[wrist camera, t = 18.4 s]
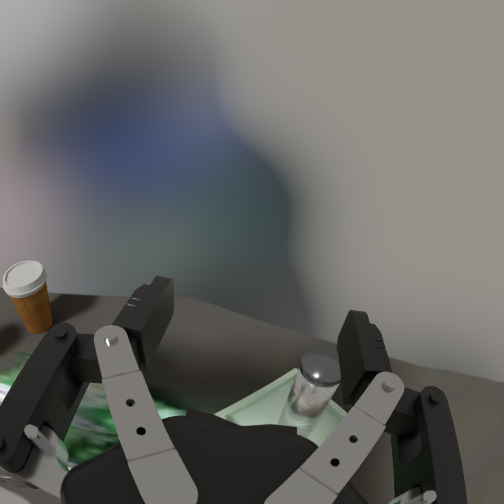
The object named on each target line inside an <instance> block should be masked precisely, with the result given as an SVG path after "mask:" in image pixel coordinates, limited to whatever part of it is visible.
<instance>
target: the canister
mask: <svg viewBox="0 0 504 504" xmlns="http://www.w3.org/2000/svg"><path fill="white" fill-rule="evenodd" d="M340 382H341V373H340V365H339V357H338V350H336V349H334V348H332V347H329V346H324V345H317V346H312V347H310V348H308V349H307V350H306V351H305V352H304V353H303V355H302V358H301V361H300V364H299V369H298V372H297V374H296V377H295V379H294V382H293V385H292V387H291V390H290V392H289V395H288V397H287V400H286V402H285V405H284V407H283V410H282V412H281V414H280V417H279V419H278V422H277V424H276V425H285V426H295V427H297V434H298V435H301V436H303V437H306V438H307V437H308V436H309V434H310V433H311V431H312V429H313V428H314V426H315V425H316V423H317V421H318V420H319V418H320V416H321V415H322V413H323V411H324V410H325V408H326V406H327V405H328V403H329V401H330V400H331V398H332V396H333V394H334V393H335V391H336V389H337V387H338V385H339V384H340Z"/></svg>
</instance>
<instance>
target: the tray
mask: <svg viewBox="0 0 504 504" xmlns="http://www.w3.org/2000/svg"><path fill="white" fill-rule="evenodd" d="M297 372H298V369H296V368H295V369H293V370H292V371H290V372H288V373H287V374H285V375H283V376H282V377H280V378H278V379H277V380H275V381H273V382H272V383H270V384H268V385H267V386H265V387H263V388H262V389H260V390H258V391H256V392H255V393H253V394H251V395H249V396H247V397H246V398H244V399H242V400H240V401H238V402H236V403H235V404H233V405H231V406H229V407H227V408H225V409H223V410H221V411H219V412H217V413H215V414H214V415H217V416H219V417H221V418H224V419H226V420H228V421H231V422H233V423H236V424H238V425H241V426H249V425H263V424H277V422H278V419H279V417H280V414H281V412H282V410H283V407H284V405H285V402H286V400H287V397H288V395H289V392H290V390H291V387H292V385H293V382H294V379H295V377H296V374H297ZM346 415H347V412H346V411H344V410H343V409H342V408H341V407H340V406H339V405H337V404H336V403H335V402H334V401H333V400H332V399H331V400H330V401H329V403H328V405H327V406H326V408H325V410H324V411H323V413H322V415H321V416H320V418H319V420H318V421H317V423H316V425H315V426H314V428H313V429H312V431H311V433H310V434H309V436H308V437H307V438H308V439H309V440H311V441H312V442H314V443H315V444H317V445H318V446H320V445H321V444H322V443H323V442H324V441H325V440H326V439H327V437H328V436H329V435H330V434H331V433H332V432H333V430H334V429H335V428H336V427H337V426H338V424H339V423H340V422H341V421H342V420H343V418H344V417H345V416H346Z"/></svg>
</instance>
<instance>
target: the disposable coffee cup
mask: <svg viewBox="0 0 504 504" xmlns="http://www.w3.org/2000/svg"><path fill="white" fill-rule="evenodd" d="M46 277H47V273H46V270H45V269H44V268H43V266H42V265H41V264H40V263H39V262H37V261H23V262H19V263H17V264H15V265H13V266H12V267H10V268H9V269H8V270H7V271H6V273H5V274H4V277H3V288H4V290H5V292H6V293H7V294H8V295H9V297H10V298H11V301H12V303H13V305H14V306H15V308H16V310H17V312H18V314H19V315H20V317H21V319H22V321H23V323H24V324H25V326H26V328H27V329H28V331H29V332H31V333H34V334H38V333H43V332H45V331H46V330H48V329H49V328H50V327H51V325H52V322H53V319H52V314H51V309H50V303H49V298H48V291H47V286H46Z"/></svg>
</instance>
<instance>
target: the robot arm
mask: <svg viewBox="0 0 504 504" xmlns="http://www.w3.org/2000/svg"><path fill="white" fill-rule="evenodd" d="M173 312H174V281H173V279H171V278H166V277H161V276H156V277H155V279H154V280H153V282H152V283H151V285H146V284H144V285H142V286H141V287H139V288H138V289H136V290H135V292H134V293H133V294H132V296H131V298H130V299H129V300H128V302H127V304H126V305H125V306H124V307H123V309H122V310H121V312H120V313H119V315H118V316H117V318H116V319H115V321H114V322H113V324H112V325H110V326H105V327H102V328H101V329H99V330H98V331H97V332H96V334H77V333H76V330H75V328H74V327H73V326H72V325H70V324H67V323H60V324H56V325H54V326H53V327H51V328H50V329H49V330H48V332H47V333H46V334H45V336H44V337H43V339H42V340H41V342H40V343H39V344H38V346H37V347H36V349H35V350H34V352H33V353H32V355H31V356H30V358H29V359H28V361H27V362H26V364H25V366H24V367H23V369H22V370H21V372H20V373H19V375H18V377H17V378H16V380H15V382H14V383H13V385H12V386H11V388H10V390H9V392H8V393H7V395H6V397H5V398H4V400H3V402H2V403H1V402H0V481H7V482H9V483H11V484H12V485H15V486H22V487H24V486H29V487H31V488H34V489H41V490H43V491H45V492H47V493H49V494H51V495H52V496H54V497H56V498H58V499H60V500H61V503H62V504H368V503H367V502H366V500H365V499H364V498H363V497H362V496H361V495H360V494H359V493H358V491H357V490H356V489H355V488H354V487H353V486H352V485H351V483H350V482H349V479H350V478H351V477H352V476H353V474H354V473H355V472H356V470H357V469H358V468H359V466H360V465H361V463H362V462H363V461H364V459H365V458H366V456H367V455H368V454H369V452H370V451H371V449H372V448H373V446H374V445H375V443H376V442H377V440H378V439H379V437H380V435H381V434H382V432H387V433H390V434H391V444H392V456H393V470H394V490H395V498H394V499H393V500H391V501H390V502H389V504H467V496H466V488H465V481H464V474H463V468H462V462H461V457H460V452H459V447H458V442H457V437H456V433H455V429H454V424H453V420H452V416H451V412H450V409H449V405H448V401H447V398H446V396H445V394H444V393H443V392H442V391H441V390H440V389H439V388H437V387H434V386H428V387H425V388H424V389H423V390H422V391H421V393H420V392H417V391H414V390H411V389H408V388H405V387H404V384H403V382H402V380H401V379H400V378H399V377H398V376H397V375H395V374H393V373H392V370H391V366H390V362H389V359H388V355H387V352H386V349H385V345H384V342H383V338H382V335H381V332H380V331H379V329H378V328H377V327H376V325H375V324H370V322H369V319H368V315H367V313H366V312H361V311H354V310H350V311H349V312H348V315H347V317H346V319H345V322H344V324H343V326H342V329H341V331H340V334H339V336H338V341H337V349H338V357H339V365H340V373H341V382H342V391H343V401H344V404H352V406H353V407H352V408H351V410H350V411H349V412H348V413H347V415H346V416H345V417H344V418H343V420H342V421H341V422H340V423H339V424H338V426H337V427H336V428H335V429H334V430H333V432H332V433H331V434H330V435H329V436H328V437H327V439H326V440H325V441H324V442H323V443H322V444H321V445H320V446H318V445H317V444H315V443H314V442H312V441H311V440H309V439H308V438H306V437H303V436H301V435H298V434H297V427H295V426H285V425H276V424H263V425H249V426H241V425H238V424H236V423H233V422H231V421H228V420H226V419H224V418H221V417H219V416H217V415H214V414H209V413H204V412H200V411H195V410H191V409H188V410H187V413H186V416H173V417H168V418H165V419H162V420H161V418H160V416H159V414H158V411H157V409H156V407H155V404H154V402H153V400H152V397H151V395H150V392H149V390H148V387H147V385H146V382H145V380H144V377H143V374H142V372H141V370H139V368H142V369H146V370H147V369H148V367H149V365H150V363H151V361H152V358H153V356H154V354H155V352H156V350H157V348H158V346H159V343H160V341H161V339H162V337H163V335H164V333H165V331H166V329H167V327H168V325H169V323H170V320H171V318H172V316H173ZM89 383H102V384H103V387H104V391H105V395H106V398H107V402H108V405H109V409H110V412H111V415H112V418H113V422H114V425H115V428H116V431H117V434H118V437H119V440H120V442H121V443H119V444H117V445H115V446H114V447H112V448H110V449H108V450H106V451H104V452H102V453H101V454H99V455H97V456H95V457H93V458H91V459H89V460H87V461H85V462H83V463H81V464H79V465H77V466H75V467H73V468H72V469H71V470H70V471H69V470H68V467H67V461H68V450H67V447H66V446H65V444H64V443H63V440H64V438H65V436H66V433H67V431H68V429H69V426H70V424H71V422H72V420H73V417H74V415H75V413H76V411H77V408H78V406H79V404H80V402H81V400H82V398H83V396H84V393H85V391H86V389H87V387H88V385H89Z"/></svg>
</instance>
